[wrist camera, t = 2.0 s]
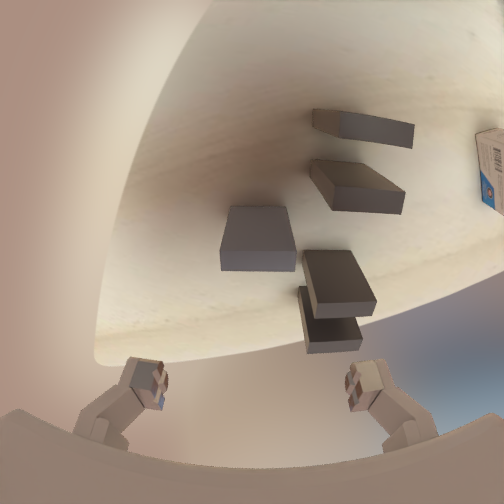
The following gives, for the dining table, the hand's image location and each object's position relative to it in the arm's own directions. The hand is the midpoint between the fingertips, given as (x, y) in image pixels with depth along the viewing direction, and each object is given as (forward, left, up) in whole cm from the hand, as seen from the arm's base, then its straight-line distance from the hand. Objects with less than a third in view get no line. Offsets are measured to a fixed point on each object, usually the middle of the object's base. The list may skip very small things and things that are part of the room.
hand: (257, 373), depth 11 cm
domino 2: (-9, +7, -17) cm, 20 cm away
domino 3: (-5, +7, -17) cm, 19 cm away
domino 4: (+4, +7, -17) cm, 19 cm away
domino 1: (0, 0, -17) cm, 17 cm away
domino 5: (+9, +7, -17) cm, 20 cm away
